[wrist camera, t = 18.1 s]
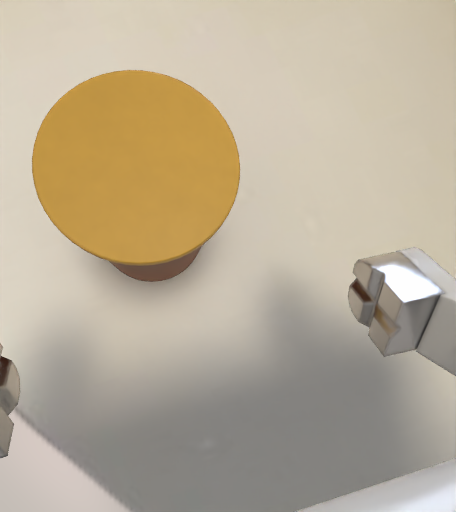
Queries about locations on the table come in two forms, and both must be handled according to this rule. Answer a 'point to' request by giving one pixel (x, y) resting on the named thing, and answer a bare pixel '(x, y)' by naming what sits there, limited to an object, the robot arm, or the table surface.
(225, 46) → the table surface
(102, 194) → the brown jar with lid
